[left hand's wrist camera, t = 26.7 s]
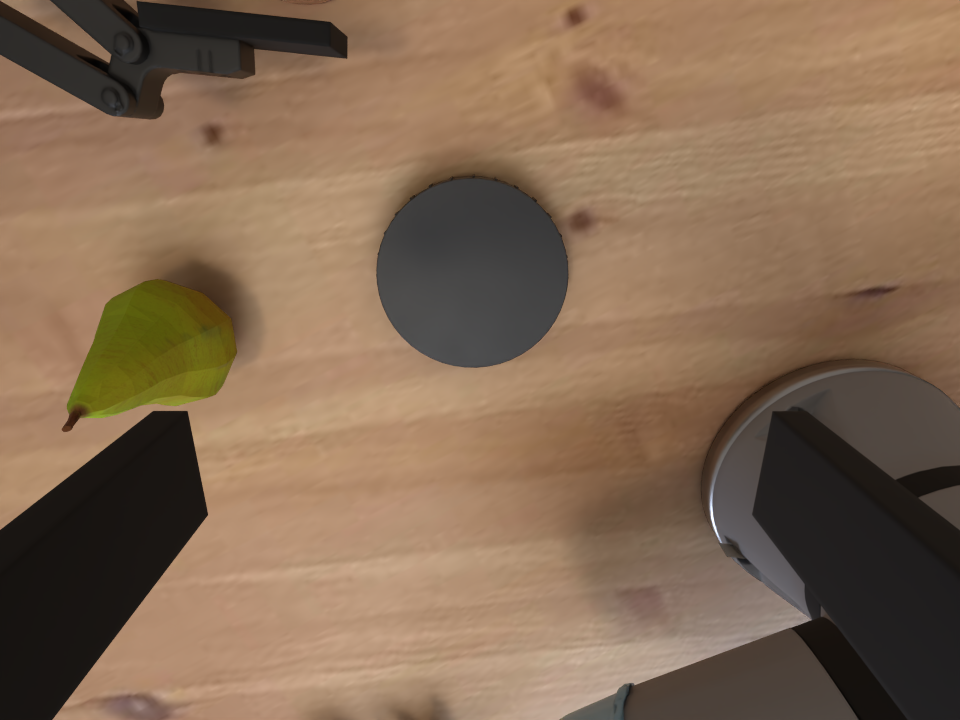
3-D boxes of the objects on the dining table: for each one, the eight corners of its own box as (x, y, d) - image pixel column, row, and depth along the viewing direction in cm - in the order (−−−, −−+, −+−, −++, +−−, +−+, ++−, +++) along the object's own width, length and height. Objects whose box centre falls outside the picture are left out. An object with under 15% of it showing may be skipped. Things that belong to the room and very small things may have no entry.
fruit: (116, 298, 30) (-94, 385, 19) (212, 251, 30) (51, 314, 18) (184, 395, 33) (30, 525, 21) (275, 354, 32) (165, 467, 20)
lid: (360, 322, 31) (352, 333, 29) (413, 145, 28) (409, 145, 26) (523, 378, 33) (526, 392, 31) (593, 215, 29) (601, 219, 27)
